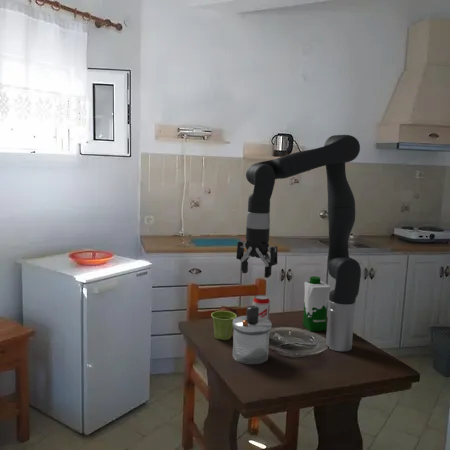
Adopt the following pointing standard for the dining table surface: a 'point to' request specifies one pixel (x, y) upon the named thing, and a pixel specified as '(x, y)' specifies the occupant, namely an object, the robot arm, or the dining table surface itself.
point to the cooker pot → (250, 347)
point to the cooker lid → (252, 321)
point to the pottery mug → (229, 310)
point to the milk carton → (315, 305)
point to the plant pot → (223, 324)
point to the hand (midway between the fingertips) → (255, 275)
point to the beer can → (262, 305)
